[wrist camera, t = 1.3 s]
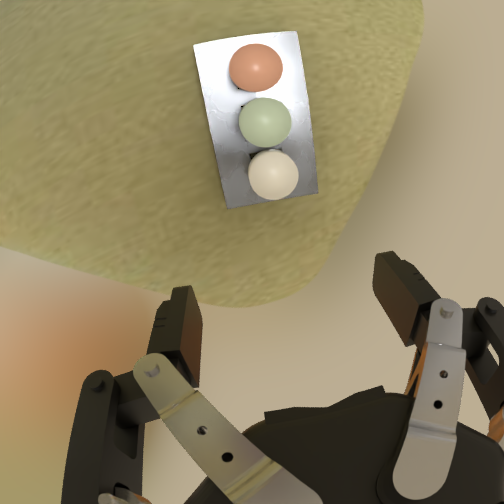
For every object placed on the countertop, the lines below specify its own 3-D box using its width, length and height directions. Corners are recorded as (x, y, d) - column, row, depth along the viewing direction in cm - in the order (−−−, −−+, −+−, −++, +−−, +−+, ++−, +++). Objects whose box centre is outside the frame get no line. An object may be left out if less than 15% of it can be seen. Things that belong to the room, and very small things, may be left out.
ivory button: (242, 148, 25) (245, 157, 22) (285, 141, 25) (295, 149, 22) (249, 188, 27) (253, 203, 24) (291, 181, 27) (300, 195, 24)
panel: (196, 49, 22) (193, 45, 19) (290, 35, 21) (296, 30, 19) (227, 200, 30) (227, 209, 28) (311, 185, 30) (318, 193, 28)
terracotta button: (225, 54, 21) (224, 47, 17) (270, 48, 20) (278, 40, 17) (233, 96, 23) (233, 95, 19) (277, 89, 23) (286, 88, 19)
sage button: (233, 101, 23) (235, 101, 19) (278, 94, 23) (287, 94, 19) (241, 143, 25) (244, 151, 22) (285, 136, 25) (294, 143, 21)
